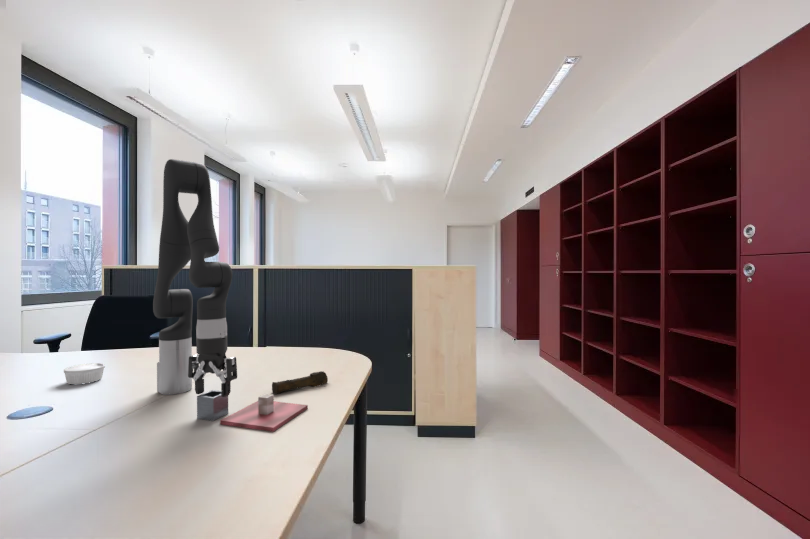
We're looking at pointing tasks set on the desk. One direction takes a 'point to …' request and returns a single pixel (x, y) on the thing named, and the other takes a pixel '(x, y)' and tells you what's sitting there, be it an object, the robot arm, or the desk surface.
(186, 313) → the robot arm
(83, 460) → the desk surface
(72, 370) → the ramekin
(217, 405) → the square socket
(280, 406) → the post base
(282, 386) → the hand tool
